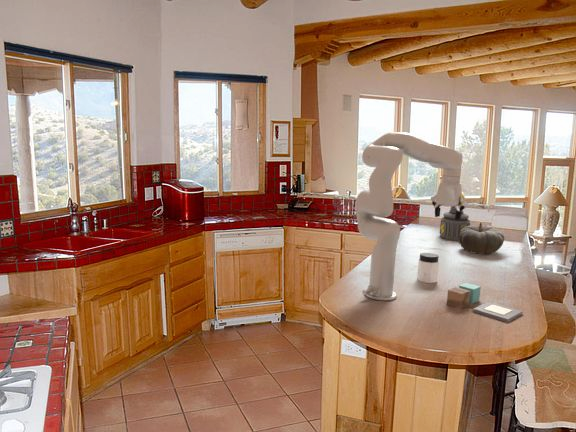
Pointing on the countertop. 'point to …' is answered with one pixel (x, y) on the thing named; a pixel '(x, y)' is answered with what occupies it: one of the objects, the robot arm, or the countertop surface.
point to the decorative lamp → (453, 224)
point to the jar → (428, 268)
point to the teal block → (472, 292)
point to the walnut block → (458, 297)
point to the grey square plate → (498, 311)
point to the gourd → (481, 239)
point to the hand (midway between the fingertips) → (447, 218)
